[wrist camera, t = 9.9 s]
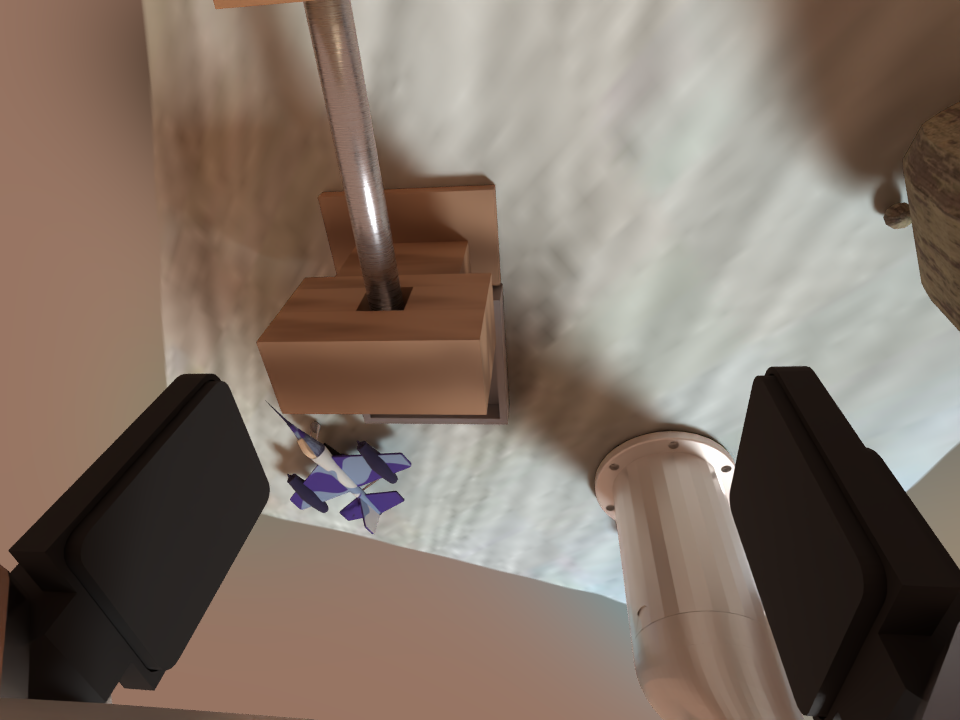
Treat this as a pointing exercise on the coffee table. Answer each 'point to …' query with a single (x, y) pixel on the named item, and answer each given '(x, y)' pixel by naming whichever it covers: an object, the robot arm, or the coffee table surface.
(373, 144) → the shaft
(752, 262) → the coffee table surface
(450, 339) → the bearing block
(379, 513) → the toy airplane
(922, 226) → the old lantern
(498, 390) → the tray
